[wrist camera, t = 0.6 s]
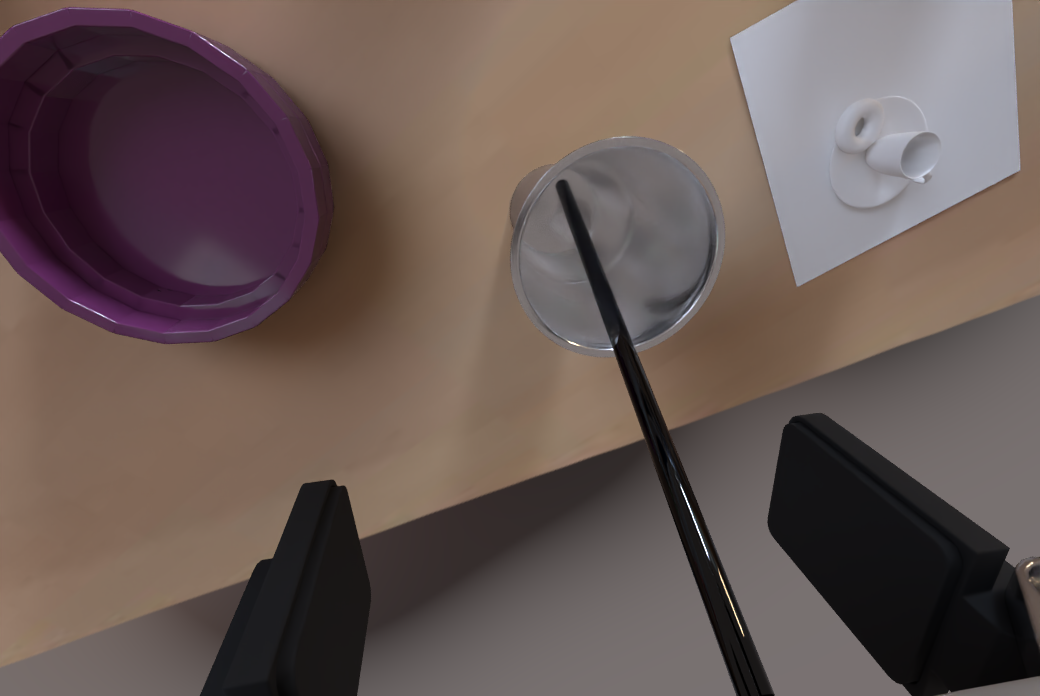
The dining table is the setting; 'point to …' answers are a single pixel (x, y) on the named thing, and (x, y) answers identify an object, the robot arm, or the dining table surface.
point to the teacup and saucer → (877, 116)
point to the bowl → (154, 177)
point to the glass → (633, 309)
